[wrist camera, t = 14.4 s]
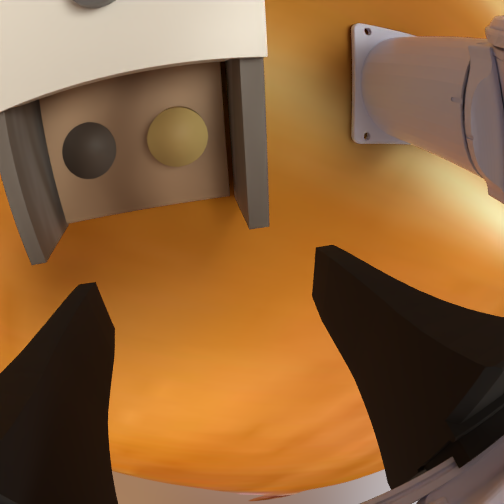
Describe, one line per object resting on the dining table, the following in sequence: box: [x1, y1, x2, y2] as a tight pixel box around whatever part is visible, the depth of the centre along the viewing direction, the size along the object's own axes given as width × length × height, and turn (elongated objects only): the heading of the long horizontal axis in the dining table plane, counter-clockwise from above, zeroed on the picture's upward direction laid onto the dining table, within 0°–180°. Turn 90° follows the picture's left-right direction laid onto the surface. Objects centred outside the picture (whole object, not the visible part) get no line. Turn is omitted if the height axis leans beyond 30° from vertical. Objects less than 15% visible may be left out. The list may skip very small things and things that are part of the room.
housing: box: [0, 58, 269, 265], centre depth 13 cm, size 13×14×4 cm
